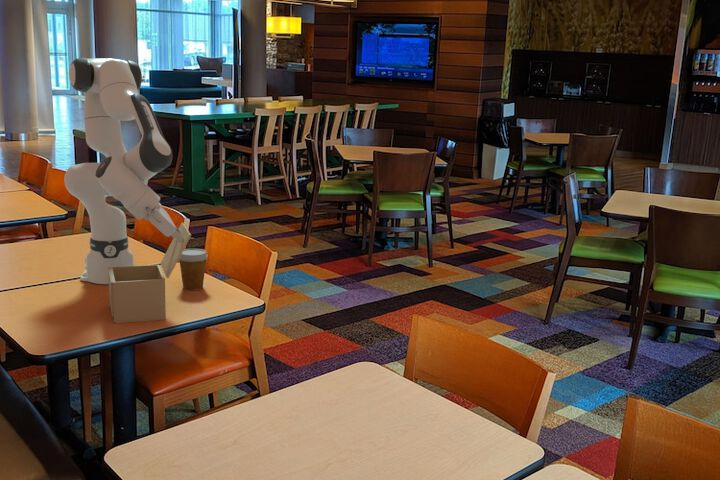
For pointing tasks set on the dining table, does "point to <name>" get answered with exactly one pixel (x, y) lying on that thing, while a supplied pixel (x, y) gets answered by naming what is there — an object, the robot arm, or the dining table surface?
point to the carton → (137, 293)
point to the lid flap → (175, 251)
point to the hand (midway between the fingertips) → (180, 236)
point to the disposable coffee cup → (193, 268)
